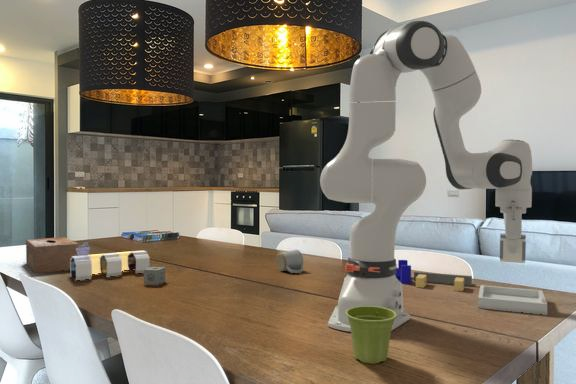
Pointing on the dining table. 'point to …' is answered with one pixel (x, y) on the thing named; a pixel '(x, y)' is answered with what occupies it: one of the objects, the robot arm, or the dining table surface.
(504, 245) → the grey rectangular box
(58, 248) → the tissue box cover
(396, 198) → the robot arm
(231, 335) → the dining table surface
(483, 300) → the parts tray
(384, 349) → the plant pot
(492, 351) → the dining table surface
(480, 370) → the dining table surface
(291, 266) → the ceramic mug
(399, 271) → the cable clip
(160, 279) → the dice cube
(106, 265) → the multicoloured piece
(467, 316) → the dining table surface
